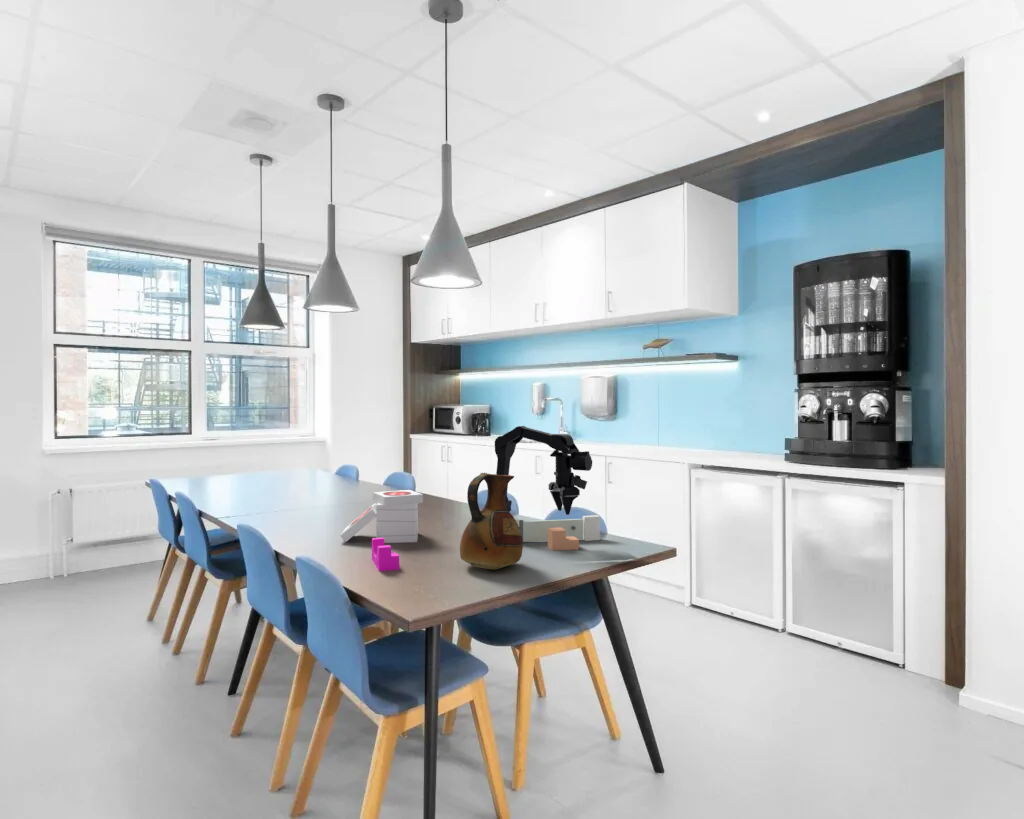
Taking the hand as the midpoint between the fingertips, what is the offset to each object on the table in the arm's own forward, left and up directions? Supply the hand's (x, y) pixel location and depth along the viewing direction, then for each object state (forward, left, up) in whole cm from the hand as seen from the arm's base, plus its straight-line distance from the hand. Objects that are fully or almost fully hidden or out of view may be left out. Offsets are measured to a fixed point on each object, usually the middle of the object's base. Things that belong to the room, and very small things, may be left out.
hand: (563, 512), depth 223 cm
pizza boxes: (-64, +26, -13) cm, 70 cm away
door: (-13, +11, -13) cm, 21 cm away
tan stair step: (0, 0, -13) cm, 13 cm away
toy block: (-63, -11, -13) cm, 66 cm away
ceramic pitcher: (-30, -20, -13) cm, 39 cm away
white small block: (-13, +11, -13) cm, 21 cm away
